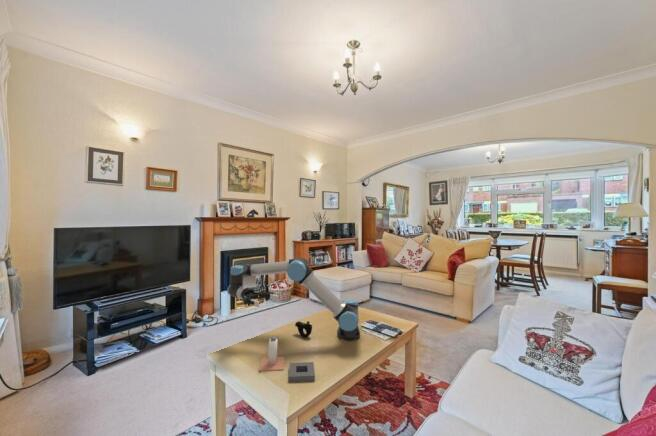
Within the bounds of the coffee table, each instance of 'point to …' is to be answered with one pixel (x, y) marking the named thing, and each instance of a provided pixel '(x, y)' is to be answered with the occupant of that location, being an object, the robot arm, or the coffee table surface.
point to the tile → (278, 366)
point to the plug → (272, 351)
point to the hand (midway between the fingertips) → (268, 301)
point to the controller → (304, 326)
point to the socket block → (301, 372)
